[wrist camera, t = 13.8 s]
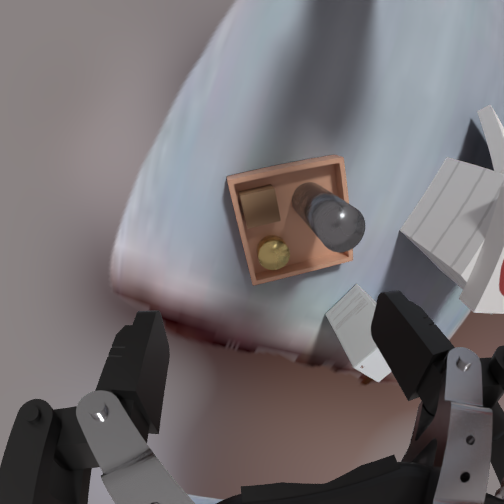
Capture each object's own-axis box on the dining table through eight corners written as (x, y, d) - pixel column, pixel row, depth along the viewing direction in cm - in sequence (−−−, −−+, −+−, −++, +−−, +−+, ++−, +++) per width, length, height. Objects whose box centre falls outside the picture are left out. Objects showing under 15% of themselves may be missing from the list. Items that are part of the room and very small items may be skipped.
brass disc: (258, 233, 37) (260, 240, 35) (289, 236, 37) (292, 242, 36) (254, 262, 38) (256, 269, 37) (284, 263, 39) (287, 271, 37)
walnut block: (238, 191, 34) (240, 196, 32) (270, 184, 34) (274, 188, 32) (245, 221, 36) (247, 228, 34) (276, 214, 36) (280, 220, 34)
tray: (226, 176, 34) (227, 180, 32) (334, 154, 35) (343, 157, 32) (250, 274, 40) (252, 285, 38) (344, 251, 40) (353, 260, 38)
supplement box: (348, 332, 47) (377, 384, 36) (323, 313, 45) (351, 368, 33) (379, 304, 46) (416, 351, 34) (357, 281, 43) (395, 331, 31)
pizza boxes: (509, 165, 37) (576, 190, 21) (438, 284, 46) (497, 341, 29) (467, 93, 31) (552, 100, 15) (382, 233, 40) (459, 296, 24)
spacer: (288, 186, 35) (317, 211, 25) (323, 179, 35) (363, 201, 25) (294, 220, 37) (323, 257, 27) (328, 213, 37) (366, 246, 27)
